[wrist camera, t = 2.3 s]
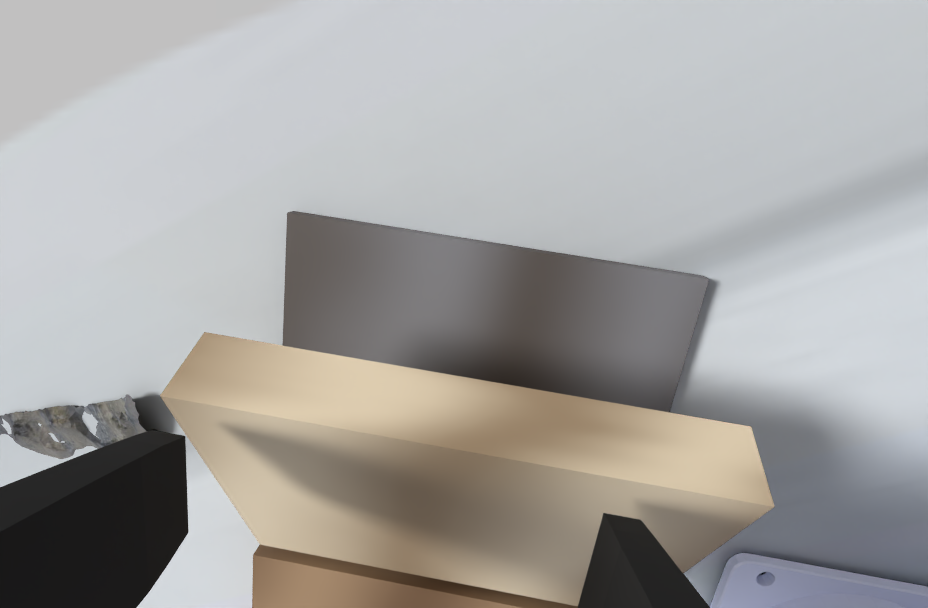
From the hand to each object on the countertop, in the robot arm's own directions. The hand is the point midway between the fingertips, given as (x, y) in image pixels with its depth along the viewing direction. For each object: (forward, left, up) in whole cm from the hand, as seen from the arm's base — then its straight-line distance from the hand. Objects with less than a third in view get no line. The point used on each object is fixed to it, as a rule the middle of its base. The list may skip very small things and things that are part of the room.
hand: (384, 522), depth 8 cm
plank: (-1, +1, -4) cm, 4 cm away
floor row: (-1, +4, -6) cm, 7 cm away
